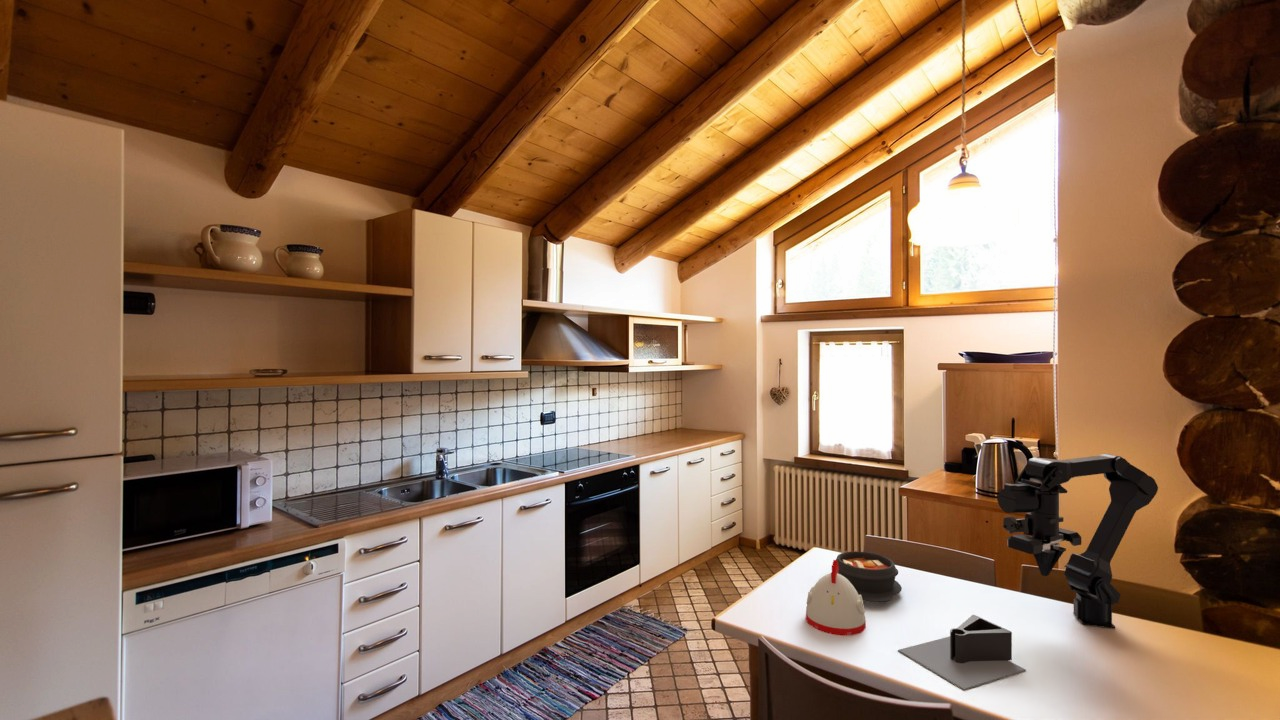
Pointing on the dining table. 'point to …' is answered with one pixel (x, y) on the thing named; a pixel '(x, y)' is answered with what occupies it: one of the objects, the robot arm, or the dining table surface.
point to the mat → (958, 665)
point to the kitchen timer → (835, 605)
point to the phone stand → (980, 641)
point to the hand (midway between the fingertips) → (1044, 575)
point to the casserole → (870, 575)
